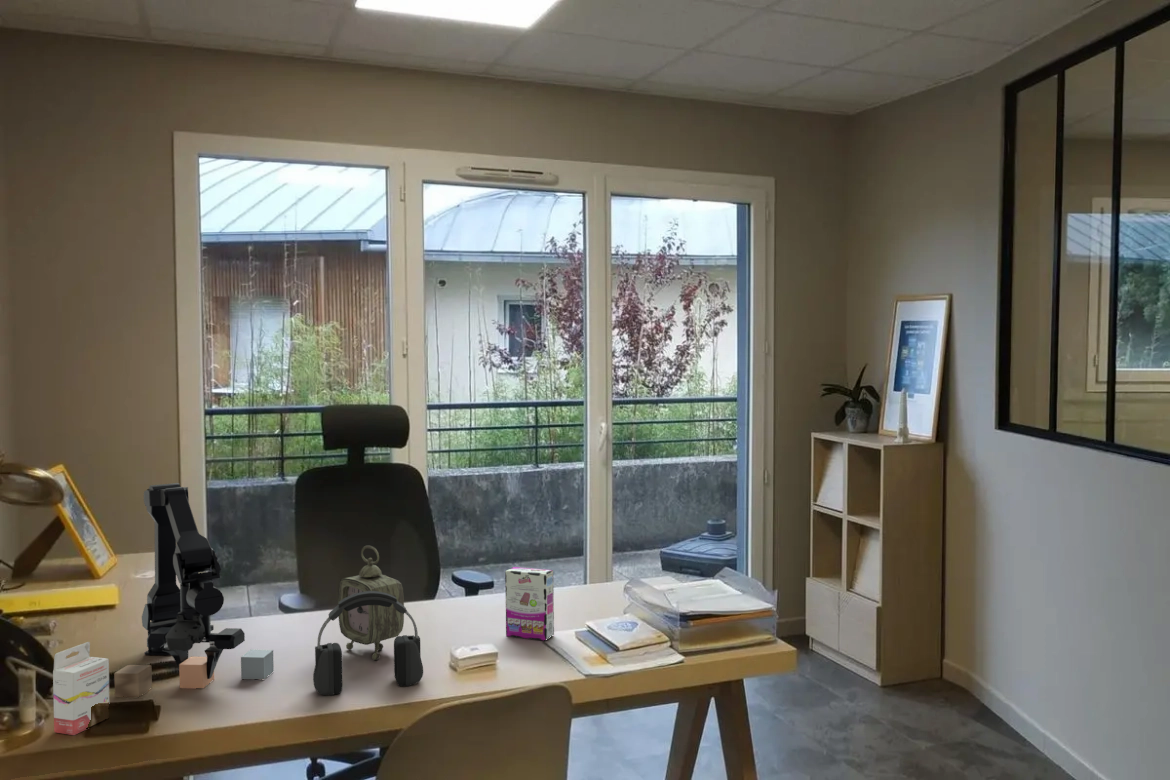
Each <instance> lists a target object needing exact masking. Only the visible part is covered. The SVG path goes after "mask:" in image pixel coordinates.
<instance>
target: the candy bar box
mask: <svg viewBox="0 0 1170 780" xmlns="http://www.w3.org/2000/svg"><path fill="white" fill-rule="evenodd" d="M504 582H505V636H506V637H509V638H516V639H517V638H519V639H525V640H527V639H528V640H535V641H544V640H546V639H548V638H549V637H550V636H552V635H554V636H555V617H554V616H555V612H554V610H555V608H554V607H555V606H554V594H555V593H554V590H555V589H554V569H553V570H552V569H545V568H544V569H543V568H531V567H521V566H520V567H516V566H513V567H510V568H508V569H507V570H505V572H504ZM548 640H549V639H548ZM544 642H545V641H544Z"/></svg>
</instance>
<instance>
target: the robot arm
mask: <svg viewBox="0 0 1170 780" xmlns="http://www.w3.org/2000/svg"><path fill="white" fill-rule="evenodd" d="M143 503H144V506H145V507H146V512H147V513H148V514H149V515H150V518H151V519H152V520H153V522H154V584H153V585H152V587H151V588H150V590H149V592H148V593H147V594H146V595H147V596H146V602H147V603H145V604H144V607H143V611H142V614H141V624H142V627H143V628H144V629H145V630H146V631H147V637H146V647H147V650H145V652H144V655H147V656H149V655H150V656H172V658H173V660H174V663H175V664H176V667H177V668H178V670H179V664H181V663H182V662H184V661H185V660H187V659H188V658H189V651H190V650H191V649H192V648H193V647H194V644H201V643H209V644H208V645H209V647H208V648H205V650H204V653H205V655H206V657H207V679H210V678H211V677H212V675H213V672H214V673H215V669H216V667H217V664H218V662H219V659H220V657H221V654H222V653H223V651H224V650H233V649H235V648H237V647H238V646H240V645H241V644H243V643H245V640H246V639H245V638H246V637H245V631H244V630H243V629H242V628H241V627H240V628H239V627H238V628H237V627H234V628H229V627H227V628H226V627H225V628H224V629H222V630H221V631H220V632H214V633H213V630H214V628H215V627H214V624H211V616H213V615H216V614H217V613H218V612H219V611H220V610H221V609H222V607H223V606H224V601H225V598H224V597H225V596H224V595H223V593H222V591H221V590H220V589H218V588H217V587H216V586H214V581H213V580H219V579H221V571H222V568H221V566H220V562H219V561H220V560H219V558H218V555H217V553H216V552H215V549H214V548H212V547H211V544H210V541H209V539H208V538H207V537H205V536H203V535H202V534H200V532H199V530H198V526H197V524H196V520H195V517H194V515H193V512H192V508H191V505H190V499H189V486H181V484H180V483H179V482H175V483H174V482H173V483H165V484H162V483H161V484H152V485H149V486H148V489H146V490H144V491H143ZM210 570H211V571H210ZM177 581H178V583H179V586H178V584H177Z"/></svg>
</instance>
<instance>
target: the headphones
mask: <svg viewBox="0 0 1170 780" xmlns="http://www.w3.org/2000/svg"><path fill="white" fill-rule="evenodd" d="M392 604H393V605H394V607H395V609H396V610H397V611H399V612H400V613H402V614H404V615H406V616H407V617H409V619H410V620H411V622H412V625H413V630H414V635H407V634H406V635H404V634H403V635H401V636H400V635H398V636H397V637H394V641H393V667H394V668H393V672H394V674H393V675H394V678H395V682H396V683H397V685H398V686H400V687H410V686H411V685H415V684H418V683H419V682H421V680H422V678H423V675H424V667H423V666H424V665H423V661H422V658H421V655H422V654H421V637H420V636H419V634H418V626H417V624H416V622H415V619H414V618H413V616H412V615H411V614H410V613H409V611H408V610H407V607H405V605H404V606H403V605H402V604H401V603H400V602H398V601H397V599H396V597H395V596H393V595H390V594H387V593H384V592H378V591H365V592H359V593H356V594H353V595H350V596H348V597H346V598H344V599H342V600H341V601H340V602H339V605H338V604H337V605H336V606H335V607H334V608H333V609H332V610H331V611H330V612H328V617H327V618H326V620H325V621H324V622H323V623H322V625H321V628H320V629H319V631H318V637H317V642H316V643H317V646H314V649H315V650H314V658H315V659H314V662H315V665H314V671H313V674H312V675H313V677H312V678H313V679H312V680H313V687H314V690H315V691H316V692H317V693H318V694H320V695H322V696H334V695H339V694H340V693H342V691H343V651H342V648H341V645H340V644H339V643H338V642H328V643H324V644H321V640H322V634H323V632H324V631H325V629H326V627H327V625H328V624H329V622H331V621H335V620H336V619H337V618H339V616H340V614H341V613H342V612H343V609H345V610H346V611H350V610H352V609H355V608H357V607H361V606H366V605H380V606H384V607H390V606H391V605H392Z"/></svg>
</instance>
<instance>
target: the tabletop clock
mask: <svg viewBox="0 0 1170 780" xmlns="http://www.w3.org/2000/svg"><path fill="white" fill-rule="evenodd" d="M366 549H370V550H372V551H373V552H374V553H375V555H376V561H373V558H372V557H369V558H365V556H364V551H365V550H366ZM379 554H380V553H379V551H378V550H377V548H376V547H375V546H372V545H365V546H362V548H361V551H360V556H361V558H362V560H363V562H365V563H366V564H367V565H366V564H365V565H364V566H363V567H362V568H361V569H360V570H359V572H358V575H353V576H349V577H343V578H342V579H339V584H338V588H337V589H338V591H337V605H339V602H340V601H341V600H342V599H344V598H346V597H348V596H350V595H353V594H356V593H359V592H365V591H378V592H384V593H387V594H390V595H393V596H395V597H396V599H397V601H398V602H400V603H401V604H402V605H403V606H404V607H405V599H404V598H405V597H404V587H403V584H402V582H400V580H397V579H395V578H392V577H389V576H387V575H386V574H383V573H382V570H381V569H380V568H379V566H377V564H378V563H379V561H380V555H379ZM404 623H405V613H404V614H402V613H400V612H399V611H397V610H396V609H395V607H394V605H393V604H392V605H391V606H390V607H384V606H380V605H366V606H361V607H357V608H355V609H352V610H350V611H346V610H345V609H343V612H342V613H341V614H340V616H339V617H338V624H339V629H340V633H341V634H342V635H343V636H344V637H345V638H346V639H349V640H350V642H347V643H346V646H345V648H346V649H347V651H350V650H352V649H354V643H357V644H360V645H364V646H365V645H367V646H368V645H371V644H372V645H373V644H374V653H372V655H371V657H372V659H373V660H374V661H378V660H379V659H380V656H381V655H380V654H379V653H378V652H379V651H382V650H383V648H384V644H383V643H381V642H382V641H386V640H389V639H393V638H394V639H395V638H396V637H398V636H400V634H401V633H402V631H403V628H404Z"/></svg>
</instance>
